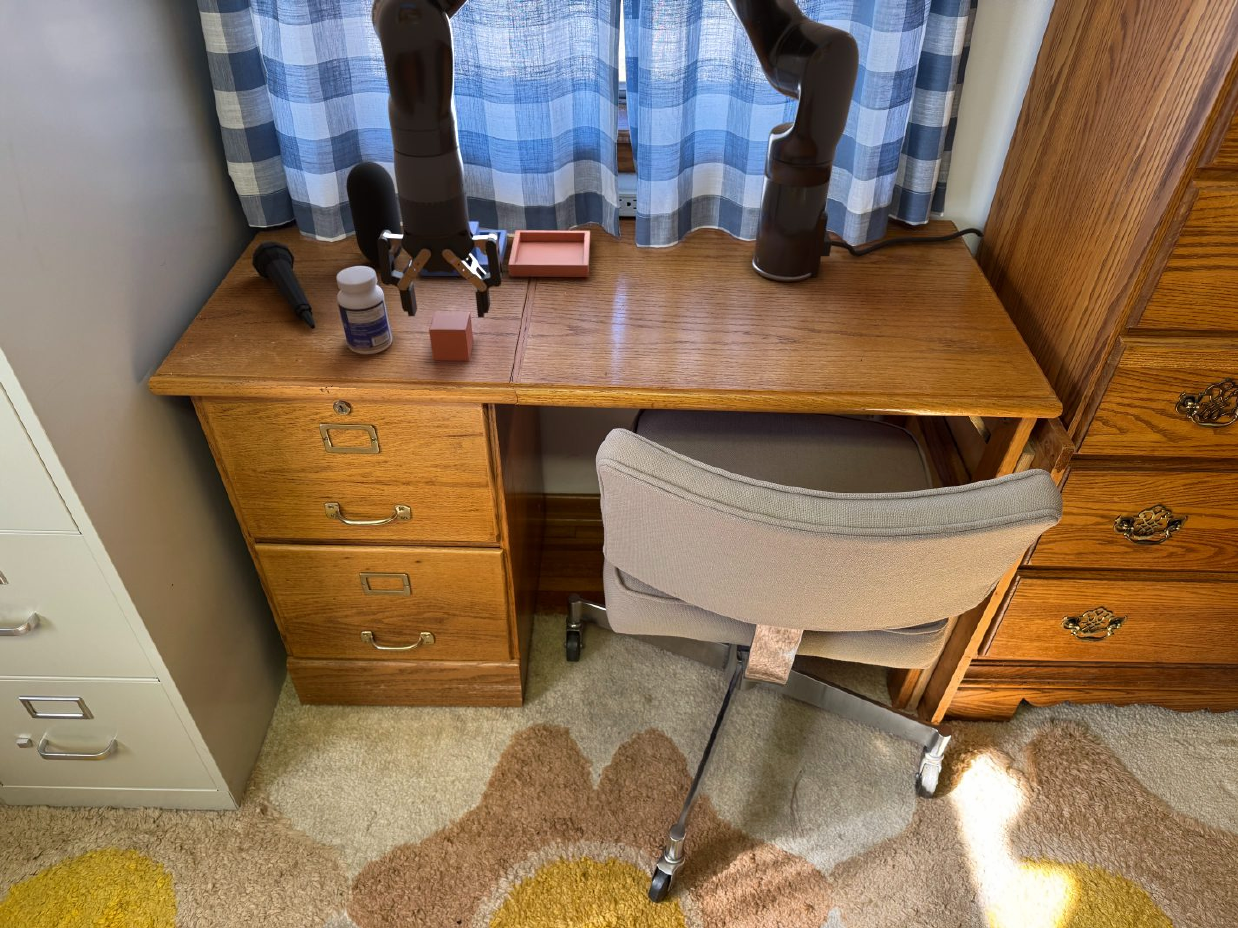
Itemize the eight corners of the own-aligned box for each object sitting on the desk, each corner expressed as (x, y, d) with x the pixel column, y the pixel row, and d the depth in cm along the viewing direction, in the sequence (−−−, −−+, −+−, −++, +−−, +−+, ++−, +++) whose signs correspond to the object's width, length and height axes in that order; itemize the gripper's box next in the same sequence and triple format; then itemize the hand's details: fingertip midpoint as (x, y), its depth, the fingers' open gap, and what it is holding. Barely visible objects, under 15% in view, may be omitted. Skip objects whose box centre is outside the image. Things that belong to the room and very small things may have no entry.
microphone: (330, 344, 115) (284, 269, 126) (336, 308, 112) (288, 234, 123) (289, 345, 112) (245, 268, 123) (294, 308, 109) (249, 231, 120)
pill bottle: (351, 333, 112) (336, 264, 106) (395, 331, 112) (382, 262, 106) (344, 357, 108) (328, 286, 101) (390, 355, 108) (376, 285, 102)
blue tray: (507, 241, 133) (506, 230, 132) (499, 276, 125) (498, 264, 123) (433, 240, 133) (431, 229, 132) (420, 275, 124) (418, 264, 123)
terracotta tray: (590, 242, 134) (590, 230, 132) (588, 277, 125) (588, 265, 123) (516, 241, 133) (515, 230, 132) (509, 276, 125) (508, 264, 123)
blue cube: (481, 249, 130) (478, 221, 127) (477, 262, 127) (474, 234, 124) (451, 249, 130) (448, 221, 127) (447, 262, 127) (443, 234, 124)
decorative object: (407, 269, 126) (390, 170, 116) (361, 274, 125) (341, 173, 115) (405, 250, 131) (389, 152, 121) (361, 254, 129) (341, 156, 120)
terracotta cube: (473, 341, 111) (470, 311, 108) (469, 360, 107) (465, 329, 104) (439, 341, 111) (434, 311, 108) (433, 360, 107) (428, 329, 104)
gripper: (359, 198, 92) (383, 329, 102) (491, 200, 92) (502, 330, 103) (374, 172, 98) (396, 298, 108) (498, 174, 98) (508, 299, 108)
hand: (447, 313), depth 105 cm, fingers open, 8 cm apart
